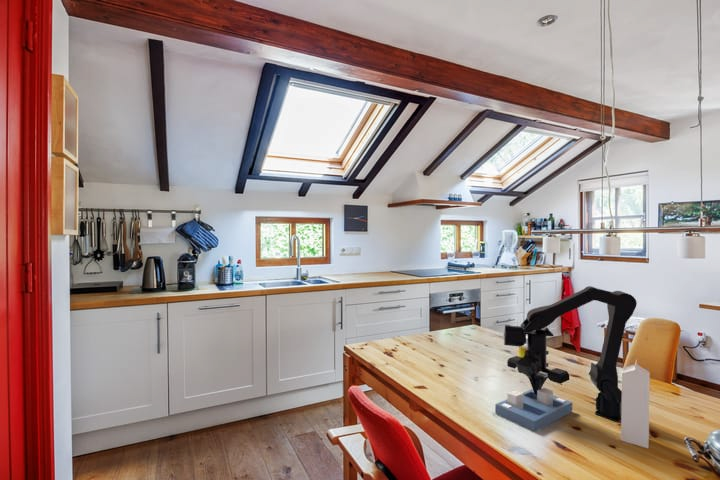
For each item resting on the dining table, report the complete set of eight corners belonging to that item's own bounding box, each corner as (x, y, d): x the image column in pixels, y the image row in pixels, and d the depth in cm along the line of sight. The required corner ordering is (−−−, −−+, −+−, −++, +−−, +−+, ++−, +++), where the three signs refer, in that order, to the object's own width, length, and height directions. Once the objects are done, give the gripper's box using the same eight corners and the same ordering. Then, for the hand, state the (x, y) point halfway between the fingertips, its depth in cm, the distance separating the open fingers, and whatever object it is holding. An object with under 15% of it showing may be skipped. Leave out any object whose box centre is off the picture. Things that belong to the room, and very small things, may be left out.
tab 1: (523, 408, 117) (523, 393, 117) (515, 412, 115) (516, 396, 115) (514, 405, 119) (514, 390, 119) (507, 408, 117) (507, 392, 117)
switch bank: (572, 411, 118) (572, 401, 118) (534, 431, 106) (534, 420, 106) (534, 396, 129) (534, 387, 129) (495, 413, 116) (495, 403, 116)
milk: (648, 439, 102) (650, 361, 102) (648, 449, 97) (650, 366, 97) (622, 431, 106) (623, 356, 106) (620, 440, 101) (622, 361, 101)
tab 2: (552, 406, 119) (553, 390, 119) (546, 409, 117) (546, 393, 117) (543, 402, 122) (544, 387, 122) (537, 405, 119) (537, 390, 119)
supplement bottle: (533, 370, 154) (533, 340, 154) (516, 366, 158) (516, 337, 158) (536, 365, 160) (536, 336, 160) (520, 362, 164) (520, 334, 164)
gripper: (497, 344, 125) (497, 390, 125) (551, 360, 109) (551, 411, 109) (516, 339, 131) (516, 382, 131) (570, 353, 115) (570, 402, 116)
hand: (536, 394), depth 122 cm, fingers closed
